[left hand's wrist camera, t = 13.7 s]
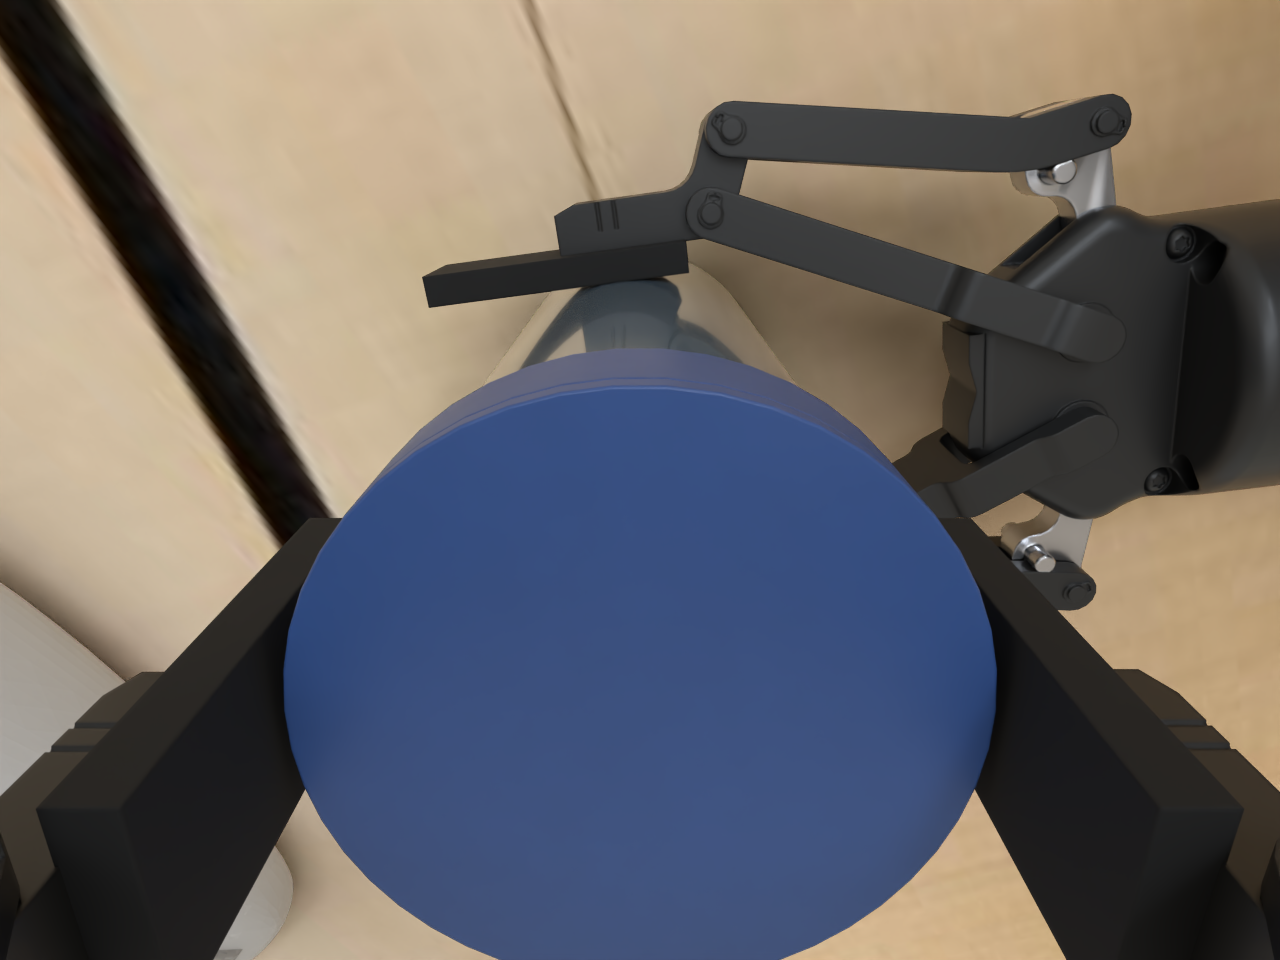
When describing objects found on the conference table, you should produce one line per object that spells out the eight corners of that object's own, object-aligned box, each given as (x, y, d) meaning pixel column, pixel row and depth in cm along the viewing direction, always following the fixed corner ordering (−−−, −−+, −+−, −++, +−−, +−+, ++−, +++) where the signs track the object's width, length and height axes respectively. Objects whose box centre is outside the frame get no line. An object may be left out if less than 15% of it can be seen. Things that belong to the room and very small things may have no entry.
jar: (473, 368, 29) (209, 687, 11) (644, 197, 27) (653, 256, 9) (635, 525, 31) (630, 1001, 13) (805, 377, 29) (1065, 706, 11)
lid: (523, 941, 14) (506, 1056, 13) (212, 519, 12) (129, 588, 10) (1020, 756, 13) (1083, 855, 11) (805, 224, 10) (842, 237, 8)
